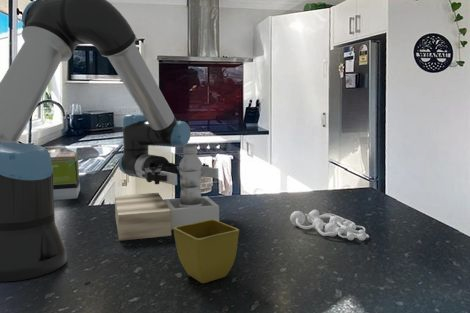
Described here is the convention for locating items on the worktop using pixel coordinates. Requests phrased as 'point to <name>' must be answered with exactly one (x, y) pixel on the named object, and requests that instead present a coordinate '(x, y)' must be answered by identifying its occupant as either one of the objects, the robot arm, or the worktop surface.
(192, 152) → the plastic bottle
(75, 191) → the tea box
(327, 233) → the tangled rod sculpture
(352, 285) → the worktop surface
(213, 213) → the frame
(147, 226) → the beige rectangular block
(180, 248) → the flower pot
